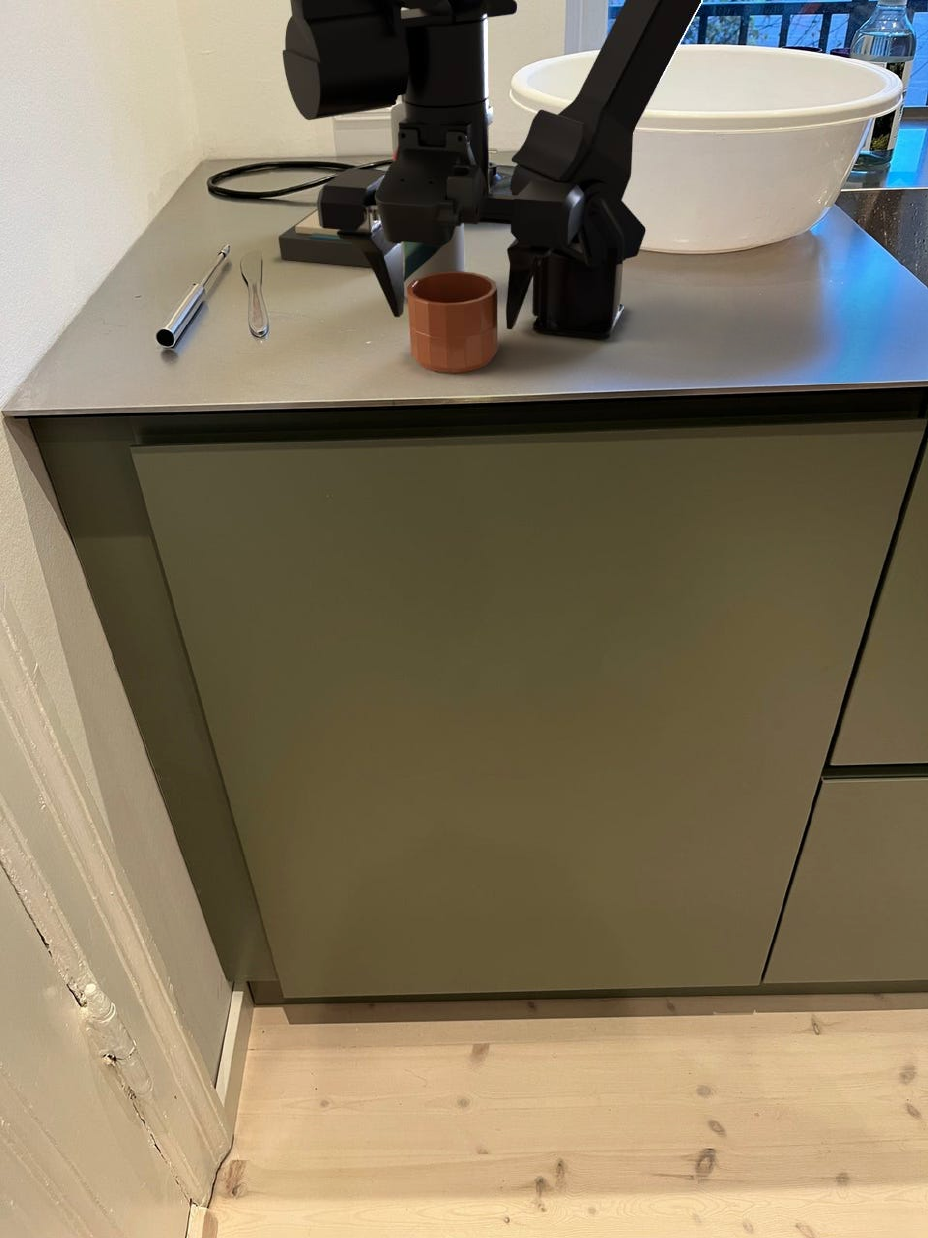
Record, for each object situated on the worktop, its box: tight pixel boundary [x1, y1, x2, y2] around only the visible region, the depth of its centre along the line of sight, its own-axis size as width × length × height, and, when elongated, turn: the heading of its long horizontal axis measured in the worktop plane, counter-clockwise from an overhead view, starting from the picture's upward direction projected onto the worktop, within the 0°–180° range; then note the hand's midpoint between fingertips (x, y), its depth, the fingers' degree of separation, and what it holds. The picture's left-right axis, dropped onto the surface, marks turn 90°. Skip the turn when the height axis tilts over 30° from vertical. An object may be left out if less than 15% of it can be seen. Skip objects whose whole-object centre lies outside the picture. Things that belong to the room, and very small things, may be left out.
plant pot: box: [407, 271, 499, 374], centre depth 75 cm, size 7×7×6 cm
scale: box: [278, 208, 372, 269], centre depth 97 cm, size 11×11×3 cm
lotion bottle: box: [390, 95, 466, 300], centre depth 81 cm, size 6×6×20 cm
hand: (454, 321), depth 75 cm, fingers open, 9 cm apart
